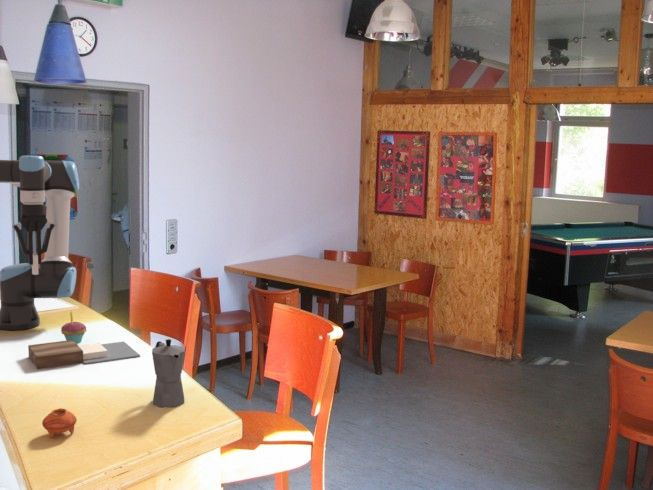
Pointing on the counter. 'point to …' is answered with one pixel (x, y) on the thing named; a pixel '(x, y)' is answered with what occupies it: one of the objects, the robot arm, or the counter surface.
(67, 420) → the pot
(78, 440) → the counter surface
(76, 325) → the cupcake
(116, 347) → the mat
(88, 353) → the cream rectangular block
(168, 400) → the coffeepot
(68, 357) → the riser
